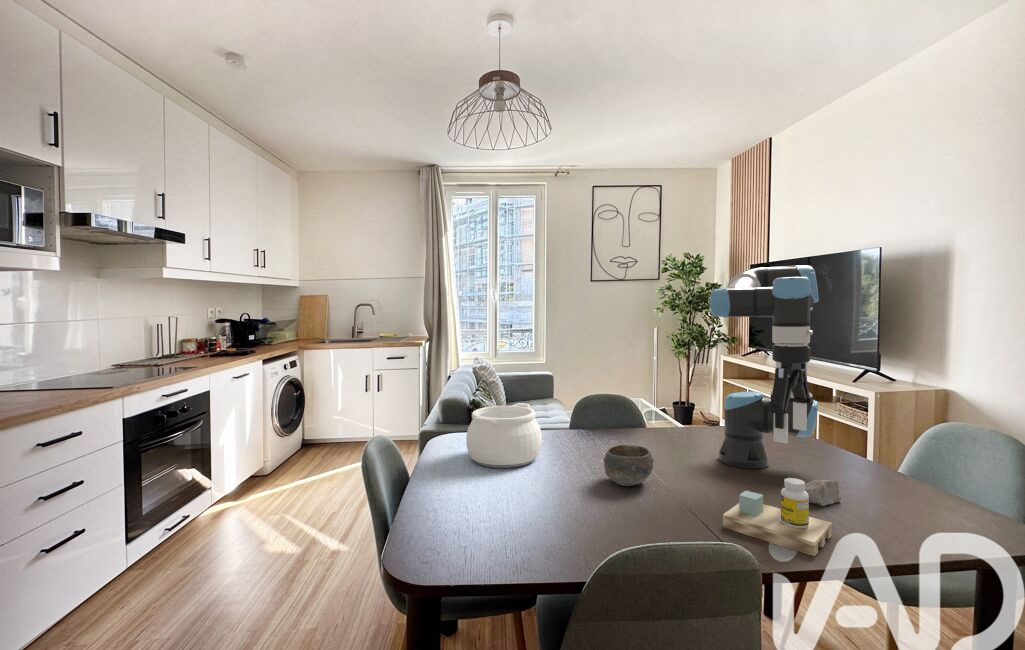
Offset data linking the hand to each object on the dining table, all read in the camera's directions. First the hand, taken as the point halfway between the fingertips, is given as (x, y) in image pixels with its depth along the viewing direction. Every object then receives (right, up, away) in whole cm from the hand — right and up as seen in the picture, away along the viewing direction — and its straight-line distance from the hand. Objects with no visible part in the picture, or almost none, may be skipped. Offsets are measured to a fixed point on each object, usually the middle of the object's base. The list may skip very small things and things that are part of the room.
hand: (790, 435), depth 110 cm
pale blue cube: (-7, -19, +4) cm, 21 cm away
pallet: (-3, -22, 0) cm, 22 cm away
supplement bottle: (-1, -19, -3) cm, 20 cm away
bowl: (-30, -22, +31) cm, 48 cm away
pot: (-67, -21, +57) cm, 90 cm away
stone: (+17, -22, +17) cm, 32 cm away
